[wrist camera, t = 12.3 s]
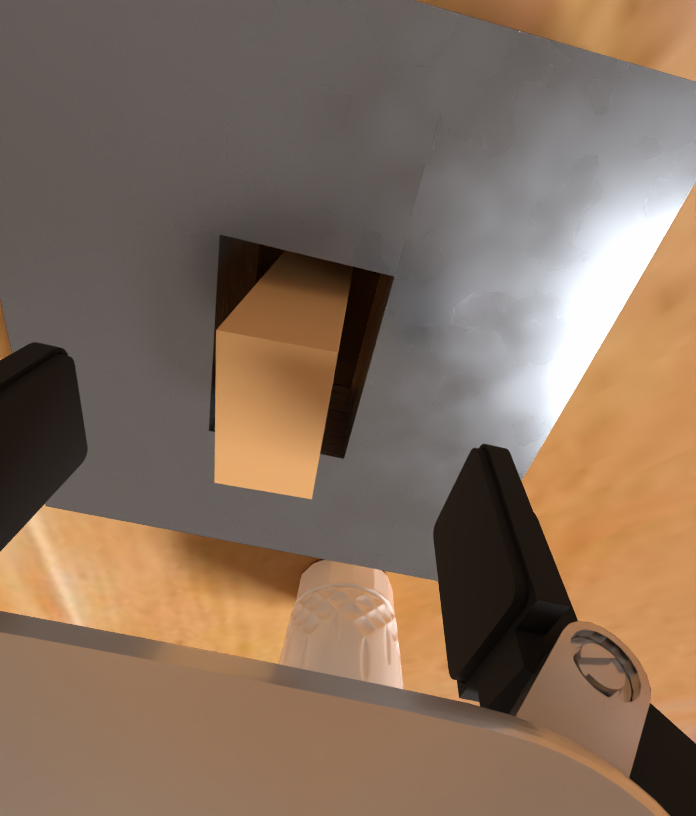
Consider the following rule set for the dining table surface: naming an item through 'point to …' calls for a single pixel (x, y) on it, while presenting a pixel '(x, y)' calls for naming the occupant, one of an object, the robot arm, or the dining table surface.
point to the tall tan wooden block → (279, 375)
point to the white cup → (344, 625)
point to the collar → (322, 238)
